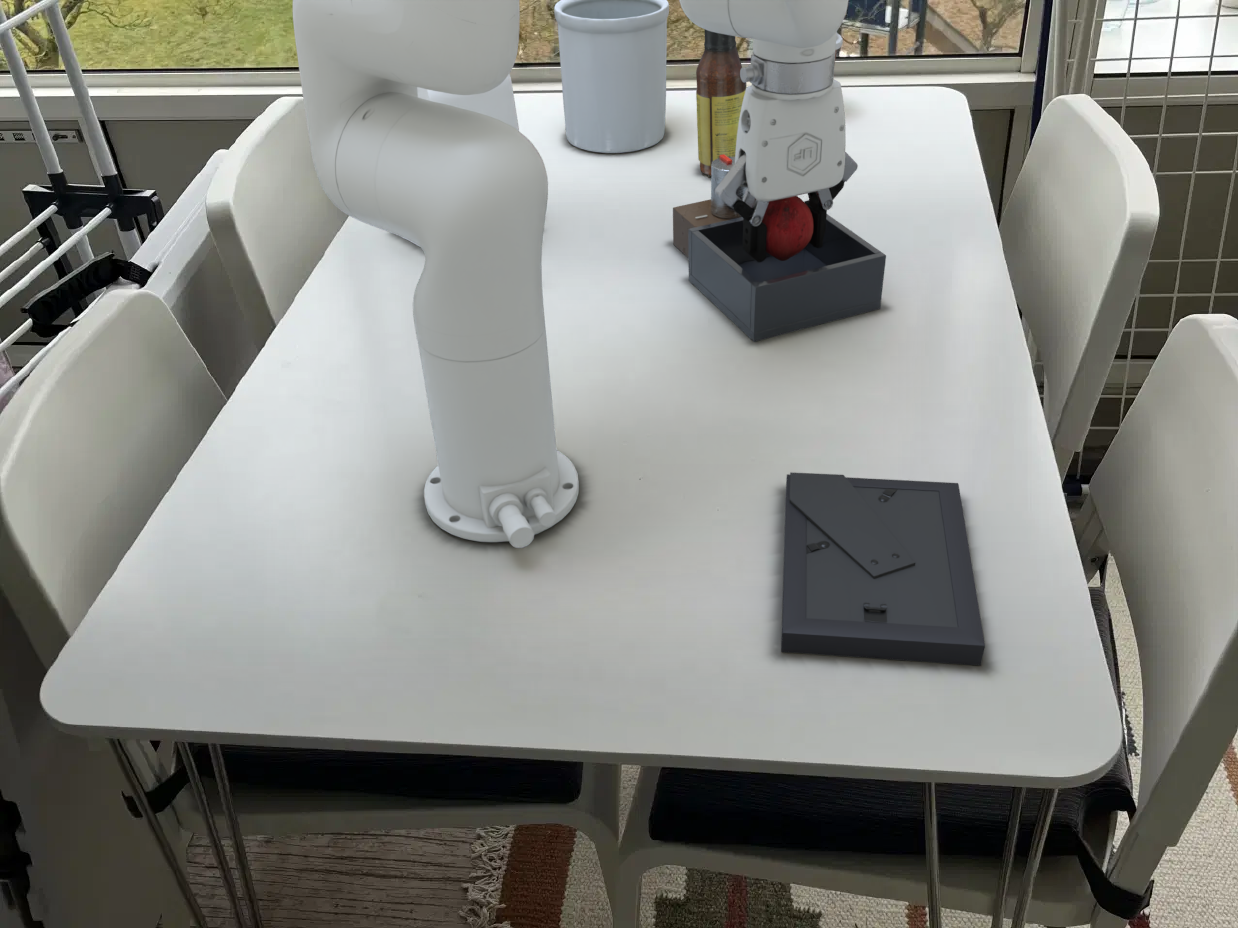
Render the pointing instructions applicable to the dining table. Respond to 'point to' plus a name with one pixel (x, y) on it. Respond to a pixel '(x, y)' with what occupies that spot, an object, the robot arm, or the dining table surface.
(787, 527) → the picture frame
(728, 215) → the metal rotary knob
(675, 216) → the block
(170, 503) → the dining table surface
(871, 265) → the dark grey open box
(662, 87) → the utensil holder
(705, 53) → the sauce bottle
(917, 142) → the dining table surface
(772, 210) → the red round fruit
